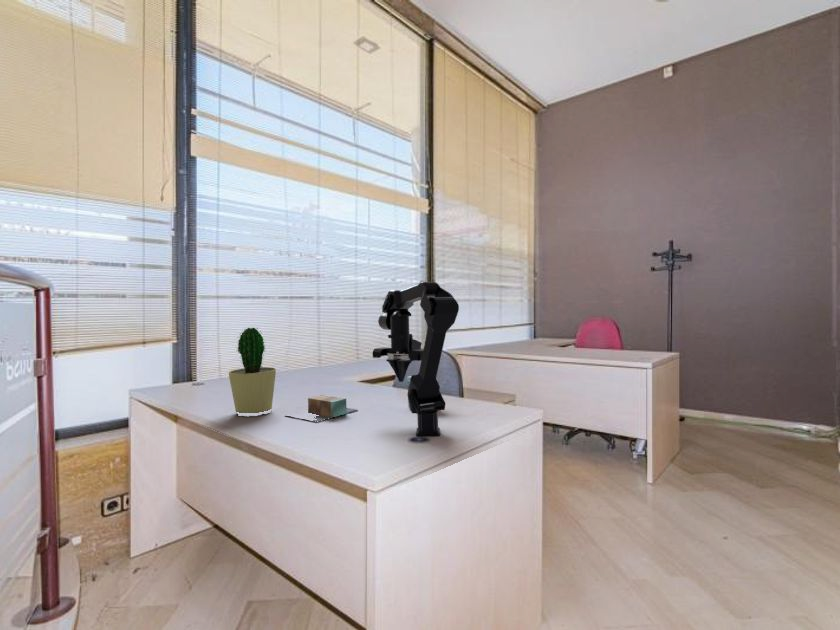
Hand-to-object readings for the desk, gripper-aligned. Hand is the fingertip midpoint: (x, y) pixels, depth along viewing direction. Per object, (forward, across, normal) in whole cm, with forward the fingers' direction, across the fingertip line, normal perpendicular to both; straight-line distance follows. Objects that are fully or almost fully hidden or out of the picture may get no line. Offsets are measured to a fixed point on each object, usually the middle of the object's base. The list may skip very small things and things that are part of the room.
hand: (401, 381), depth 138 cm
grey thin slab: (+12, +29, +7) cm, 32 cm away
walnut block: (+9, +20, +7) cm, 23 cm away
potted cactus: (+12, +51, +18) cm, 55 cm away
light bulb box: (+12, +4, -17) cm, 21 cm away
